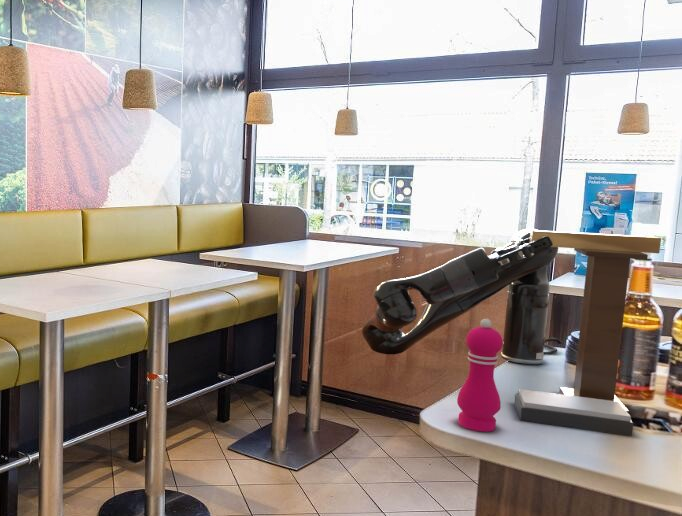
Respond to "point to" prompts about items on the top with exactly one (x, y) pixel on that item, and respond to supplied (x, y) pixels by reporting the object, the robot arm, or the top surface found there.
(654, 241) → the beech stick
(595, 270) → the stand
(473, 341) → the pepper mill
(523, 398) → the scale
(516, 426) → the top surface
